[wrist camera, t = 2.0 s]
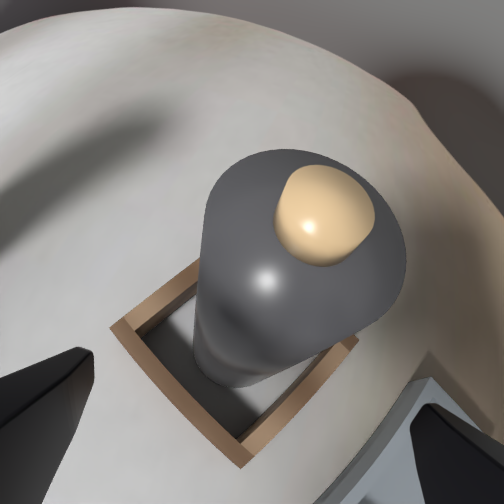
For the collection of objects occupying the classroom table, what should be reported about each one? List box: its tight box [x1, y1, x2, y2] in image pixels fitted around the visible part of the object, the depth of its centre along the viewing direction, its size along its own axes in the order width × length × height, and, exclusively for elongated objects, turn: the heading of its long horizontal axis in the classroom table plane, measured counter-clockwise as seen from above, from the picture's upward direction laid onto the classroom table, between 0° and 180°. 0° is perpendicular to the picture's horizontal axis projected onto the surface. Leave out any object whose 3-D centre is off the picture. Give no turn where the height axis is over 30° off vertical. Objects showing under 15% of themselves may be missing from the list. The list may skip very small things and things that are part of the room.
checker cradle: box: [110, 258, 359, 469], centre depth 18 cm, size 10×10×2 cm
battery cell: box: [193, 149, 406, 388], centre depth 12 cm, size 5×5×14 cm
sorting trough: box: [314, 376, 482, 504], centre depth 14 cm, size 11×11×2 cm
